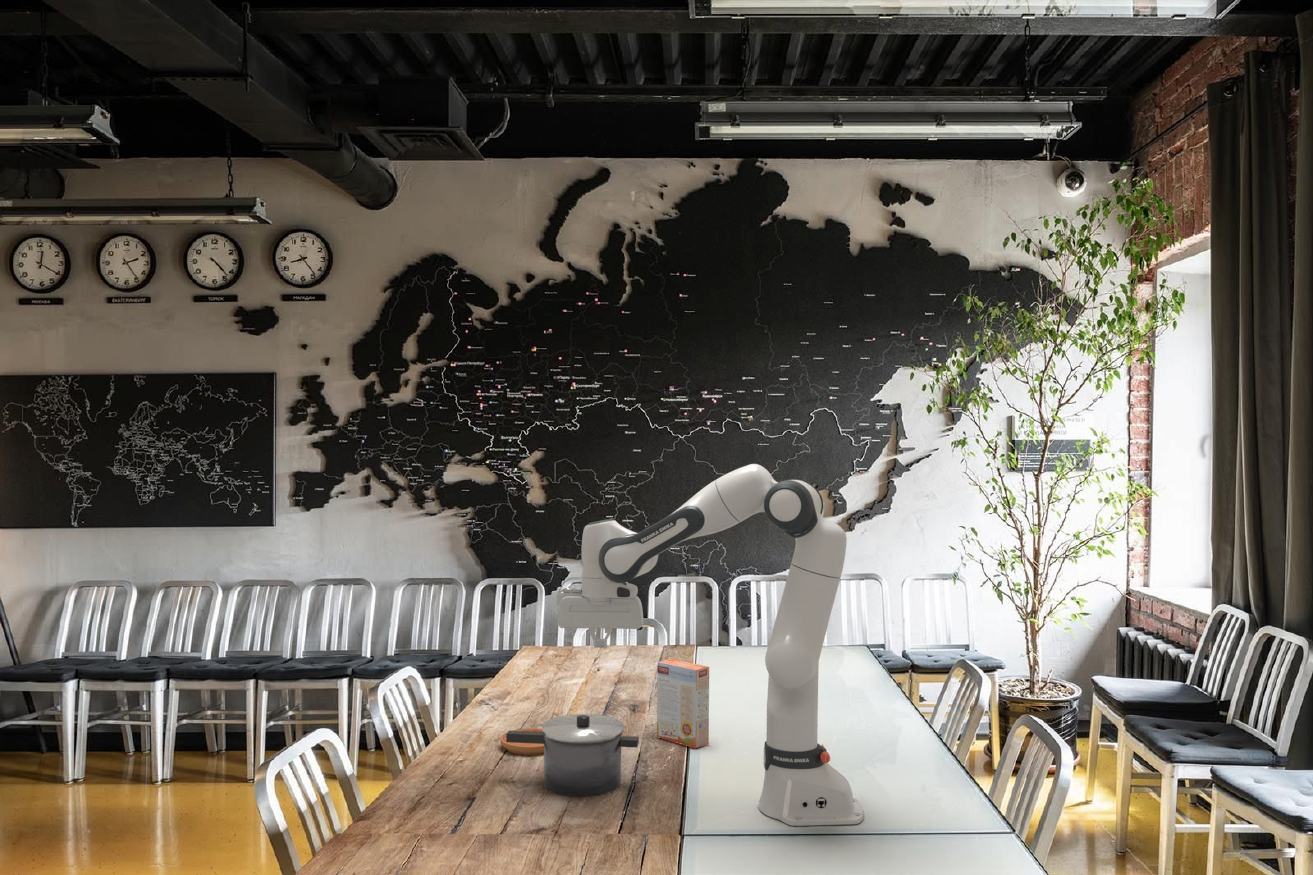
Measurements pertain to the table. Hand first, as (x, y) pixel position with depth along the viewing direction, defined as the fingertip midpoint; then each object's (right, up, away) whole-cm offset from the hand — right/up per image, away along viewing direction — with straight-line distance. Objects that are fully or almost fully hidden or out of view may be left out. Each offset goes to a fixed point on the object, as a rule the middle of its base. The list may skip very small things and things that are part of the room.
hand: (600, 647), depth 219 cm
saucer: (-20, -32, +24) cm, 45 cm away
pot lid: (-4, -19, -1) cm, 20 cm away
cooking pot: (-7, -31, -1) cm, 32 cm away
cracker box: (+20, -32, +30) cm, 49 cm away
